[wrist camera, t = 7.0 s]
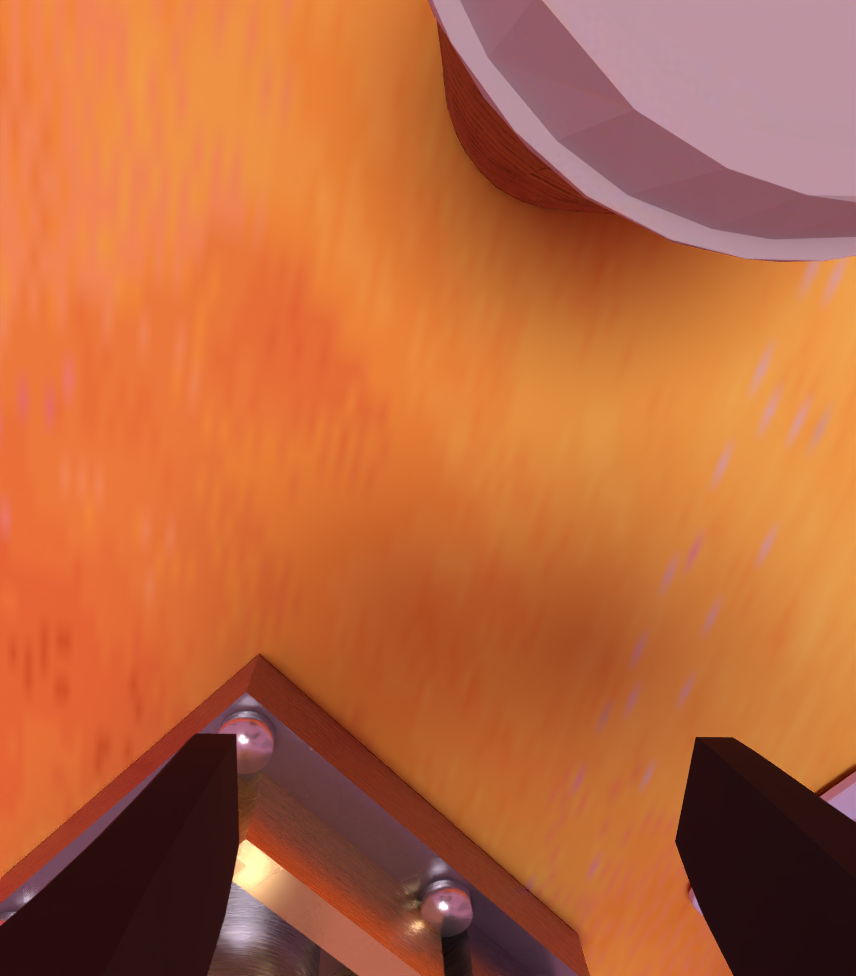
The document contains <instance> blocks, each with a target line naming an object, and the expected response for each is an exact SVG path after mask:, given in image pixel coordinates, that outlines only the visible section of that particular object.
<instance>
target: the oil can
mask: <svg viewBox="0 0 856 976" xmlns="http://www.w3.org/2000/svg"><path fill="white" fill-rule="evenodd" d="M320 956H321V947H320V946H318V945H317V944H316V943H314V942H313V941H312V940H310V939H309V938H308V937H306V936H305V935H304V934H302V933H301V932H300V931H298V930H297V929H296V928H294V927H293V926H292V925H290V924H289V923H288V922H286V921H285V920H284V919H282V918H281V917H280V916H278V915H277V914H276V913H274V912H273V911H272V910H270V909H269V908H268V907H266V906H265V905H264V904H262V903H261V902H260V901H258V900H257V899H256V898H254V897H253V896H252V895H250V894H249V893H248V892H246V891H245V890H244V889H242V888H241V887H240V886H238V885H237V884H236V883H234V882H233V881H232V885H231V890H230V895H229V900H228V905H227V910H226V915H225V918H224V921H223V925H222V928H221V932H220V935H219V938H218V942H217V945H216V948H215V951H214V955H213V958H212V961H211V965H210V968H209V971H208V975H207V976H319V967H320Z"/></svg>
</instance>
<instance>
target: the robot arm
mask: <svg viewBox="0 0 856 976" xmlns="http://www.w3.org/2000/svg"><path fill="white" fill-rule="evenodd" d="M675 842H676V845H677V848H678V851H679V854H680V857H681V859H682V862H683V865H684V868H685V871H686V874H687V876H688V879H689V882H690V884H691V887H692V888H691V890H690V892H689V898H690V900H691V902H692V904H693V906H694V908H695V909H696V910H697V911H698V912H699V913H700V914H701V915H702V916H703V917H704V918H705V920H706V922H707V924H708V926H709V928H710V930H711V932H712V934H713V936H714V938H715V940H716V942H717V944H718V946H719V948H720V950H721V952H722V954H723V956H724V958H725V960H726V962H727V964H728V966H729V968H730V969H731V971H732V973H733V975H734V976H856V771H855V772H854V773H852V774H851V775H850V776H848V777H847V778H845V779H844V780H843V781H841V782H840V783H838V784H837V785H836V786H834V787H833V788H831V789H830V790H828V791H827V792H826V793H824V794H823V795H821V796H820V797H819V796H818V795H816V794H815V793H813V792H812V791H811V790H809V789H808V788H806V787H805V786H804V785H802V784H801V783H799V782H798V781H797V780H795V779H794V778H792V777H791V776H789V775H788V774H787V773H785V772H784V771H782V770H781V769H780V768H778V767H777V766H775V765H774V764H772V763H771V762H770V761H768V760H767V759H765V758H764V757H762V756H761V755H759V754H758V753H756V752H755V751H753V750H752V749H750V748H749V747H747V746H746V745H744V744H743V743H741V742H739V741H738V740H736V739H734V738H733V737H696V739H695V744H694V749H693V754H692V759H691V764H690V769H689V774H688V779H687V785H686V790H685V795H684V800H683V805H682V810H681V815H680V820H679V825H678V830H677V835H676V840H675ZM238 848H239V812H238V775H237V738H236V734H211V733H195V734H194V735H193V736H192V737H191V738H190V739H188V740H187V742H186V743H185V744H184V745H183V746H182V747H181V748H180V749H179V750H178V752H177V753H176V754H175V755H174V756H173V757H172V758H171V759H170V760H169V762H168V763H167V764H166V765H165V766H164V767H163V768H162V769H161V770H160V772H159V773H158V774H157V775H156V776H155V777H154V778H153V779H152V780H151V781H150V782H149V784H148V785H147V786H146V787H145V788H144V789H143V790H142V791H141V792H140V793H139V794H138V795H137V797H136V798H135V799H134V800H133V801H132V802H131V803H130V804H129V805H128V806H127V807H126V808H125V809H124V810H123V811H122V812H121V813H120V814H119V815H118V816H117V817H116V818H115V819H114V820H113V821H112V822H111V823H110V824H109V825H108V826H107V827H106V828H105V829H104V830H103V832H102V833H101V834H100V835H99V836H98V837H97V838H96V839H95V840H94V841H93V842H92V843H91V844H89V845H88V846H87V847H86V848H85V849H84V850H83V851H82V852H81V853H80V854H79V855H78V856H77V857H76V858H75V859H74V860H73V861H71V862H70V863H69V864H68V865H67V866H66V867H65V868H64V869H63V870H62V871H61V872H60V873H59V874H58V875H57V876H55V877H54V878H53V879H52V880H51V881H50V882H49V883H48V884H47V885H46V886H45V887H44V888H43V889H42V890H41V891H39V892H38V893H37V894H36V895H35V896H34V897H33V898H32V899H30V900H29V901H28V902H27V903H26V904H25V905H24V906H22V907H21V908H20V909H19V910H18V911H17V912H16V913H14V914H13V915H12V916H11V917H10V918H9V919H7V920H6V921H5V922H4V923H3V924H2V925H0V976H207V975H208V971H209V968H210V965H211V961H212V958H213V955H214V951H215V948H216V945H217V942H218V938H219V935H220V932H221V928H222V925H223V921H224V918H225V915H226V910H227V905H228V900H229V895H230V890H231V885H232V880H233V875H234V869H235V864H236V859H237V854H238Z"/></svg>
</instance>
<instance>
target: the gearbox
mask: <svg viewBox="0 0 856 976" xmlns="http://www.w3.org/2000/svg"><path fill="white" fill-rule="evenodd" d="M195 733H211V734H236V738H237V775H238V812H239V848H238V854H237V859H236V864H235V869H234V875H233V880H232V881H233V882H234V883H236V884H237V885H238V886H240V887H241V888H242V889H244V890H245V891H246V892H248V893H249V894H250V895H252V896H253V897H254V898H256V899H257V900H258V901H260V902H261V903H262V904H264V905H265V906H266V907H268V908H269V909H270V910H272V911H273V912H274V913H276V914H277V915H278V916H280V917H281V918H282V919H284V920H285V921H286V922H288V923H289V924H290V925H292V926H293V927H294V928H296V929H297V930H298V931H300V932H301V933H302V934H304V935H305V936H306V937H308V938H309V939H310V940H312V941H313V942H314V943H316V944H317V945H318V946H320V947H321V956H320V967H319V976H590V974H589V971H588V968H587V964H586V961H585V958H584V954H583V951H582V948H581V944H580V941H579V938H578V934H577V933H575V932H574V931H573V930H572V929H571V928H570V927H569V926H567V925H566V924H565V923H564V922H563V921H562V920H561V919H560V918H558V917H557V916H556V915H555V914H554V913H553V912H552V911H550V910H549V909H548V908H547V907H546V906H545V905H544V904H542V903H541V902H540V901H539V900H538V899H537V898H536V897H534V896H533V895H532V894H531V893H530V892H529V891H528V890H527V889H525V888H524V887H523V886H522V885H521V884H520V883H519V882H517V881H516V880H515V879H514V878H513V877H512V876H511V875H509V874H508V873H507V872H506V871H505V870H504V869H503V868H502V867H500V866H499V865H498V864H497V863H496V862H495V861H494V860H492V859H491V858H490V857H489V856H488V855H487V854H486V853H484V852H483V851H482V850H481V849H480V848H479V847H478V846H476V845H475V844H474V843H473V842H472V841H471V840H470V839H469V838H467V837H466V836H465V835H464V834H463V833H462V832H461V831H459V830H458V829H457V828H456V827H455V826H454V825H453V824H451V823H450V822H449V821H448V820H447V819H446V818H445V817H443V816H442V815H441V814H440V813H439V812H438V811H437V810H436V809H434V808H433V807H432V806H431V805H430V804H429V803H428V802H426V801H425V800H424V799H423V798H422V797H421V796H420V795H418V794H417V793H416V792H415V791H414V790H413V789H412V788H411V787H409V786H408V785H407V784H406V783H405V782H404V781H403V780H401V779H400V778H399V777H398V776H397V775H396V774H395V773H393V772H392V771H391V770H390V769H389V768H388V767H387V766H385V765H384V764H383V763H382V762H381V761H380V760H379V759H378V758H376V757H375V756H374V755H373V754H372V753H371V752H370V751H368V750H367V749H366V748H365V747H364V746H363V745H362V744H360V743H359V742H358V741H357V740H356V739H355V738H354V737H352V736H351V735H350V734H349V733H348V732H347V731H346V730H345V729H343V728H342V727H341V726H340V725H339V724H338V723H337V722H335V721H334V720H333V719H332V718H331V717H330V716H329V715H327V714H326V713H325V712H324V711H323V710H322V709H321V708H320V707H318V706H317V705H316V704H315V703H314V702H313V701H312V700H310V699H309V698H308V697H307V696H306V695H305V694H304V693H302V692H301V691H300V690H299V689H298V688H297V687H296V686H294V685H293V684H292V683H291V682H290V681H289V680H288V679H287V678H285V677H284V676H283V675H282V674H281V673H280V672H279V671H277V670H276V669H275V668H274V667H273V666H272V665H271V664H269V663H268V662H267V661H266V660H265V659H264V658H263V657H261V656H260V655H257V656H256V657H255V658H254V659H253V660H252V661H250V662H249V663H248V664H247V665H246V666H245V667H244V668H242V669H241V670H240V671H239V672H238V673H237V674H236V675H234V676H233V677H232V678H231V679H230V680H229V681H227V682H226V683H225V684H224V685H223V686H222V687H221V688H219V689H218V690H217V691H216V692H215V693H214V694H213V695H211V696H210V697H209V698H208V699H207V700H206V701H204V702H203V703H202V704H201V705H200V706H199V707H198V708H196V709H195V710H194V711H193V712H192V713H191V714H190V715H188V716H187V717H186V718H185V719H184V720H183V721H181V722H180V723H179V724H178V725H177V726H176V727H175V728H173V729H172V730H171V731H170V732H169V733H168V734H167V735H165V736H164V737H163V738H162V739H161V740H160V741H158V742H157V743H156V744H155V745H154V746H153V747H152V748H150V749H149V750H148V751H147V752H146V753H145V754H144V755H142V756H141V757H140V758H139V759H138V760H137V761H135V762H134V763H133V764H132V765H131V766H130V767H129V768H127V769H126V770H125V771H124V772H123V773H122V774H120V775H119V776H118V777H117V778H116V779H115V780H114V781H112V782H111V783H110V784H109V785H108V786H107V787H106V788H104V789H103V790H102V791H101V792H100V793H99V794H97V795H96V796H95V797H94V798H93V799H92V800H91V801H89V802H88V803H87V804H86V805H85V806H84V807H83V808H81V809H80V810H79V811H78V812H77V813H76V814H74V815H73V816H72V817H71V818H70V819H69V820H68V821H66V822H65V823H64V824H63V825H62V826H61V827H60V828H58V829H57V830H56V831H55V832H54V833H53V834H51V835H50V836H49V837H48V838H47V839H46V840H45V841H43V842H42V843H41V844H40V845H39V846H38V847H37V848H35V849H34V850H33V851H32V852H31V853H30V854H28V855H27V856H26V857H25V858H24V859H23V860H22V861H20V862H19V863H18V864H17V865H16V866H15V867H14V868H12V869H11V870H10V871H9V872H8V873H7V874H5V875H4V876H3V877H2V878H1V880H0V925H2V924H3V923H4V922H5V921H6V920H7V919H9V918H10V917H11V916H12V915H13V914H14V913H16V912H17V911H18V910H19V909H20V908H21V907H22V906H24V905H25V904H26V903H27V902H28V901H29V900H30V899H32V898H33V897H34V896H35V895H36V894H37V893H38V892H39V891H41V890H42V889H43V888H44V887H45V886H46V885H47V884H48V883H49V882H50V881H51V880H52V879H53V878H54V877H55V876H57V875H58V874H59V873H60V872H61V871H62V870H63V869H64V868H65V867H66V866H67V865H68V864H69V863H70V862H71V861H73V860H74V859H75V858H76V857H77V856H78V855H79V854H80V853H81V852H82V851H83V850H84V849H85V848H86V847H87V846H88V845H89V844H91V843H92V842H93V841H94V840H95V839H96V838H97V837H98V836H99V835H100V834H101V833H102V832H103V830H104V829H105V828H106V827H107V826H108V825H109V824H110V823H111V822H112V821H113V820H114V819H115V818H116V817H117V816H118V815H119V814H120V813H121V812H122V811H123V810H124V809H125V808H126V807H127V806H128V805H129V804H130V803H131V802H132V801H133V800H134V799H135V798H136V797H137V795H138V794H139V793H140V792H141V791H142V790H143V789H144V788H145V787H146V786H147V785H148V784H149V782H150V781H151V780H152V779H153V778H154V777H155V776H156V775H157V774H158V773H159V772H160V770H161V769H162V768H163V767H164V766H165V765H166V764H167V763H168V762H169V760H170V759H171V758H172V757H173V756H174V755H175V754H176V753H177V752H178V750H179V749H180V748H181V747H182V746H183V745H184V744H185V743H186V742H187V740H188V739H190V738H191V737H192V736H193V735H194V734H195Z"/></svg>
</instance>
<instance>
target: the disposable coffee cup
mask: <svg viewBox="0 0 856 976" xmlns="http://www.w3.org/2000/svg"><path fill="white" fill-rule="evenodd" d="M428 1H429V3H430V6H431V9H432V11H433V14H434V16H435V18H436V19H437V26H438V34H439V41H440V48H441V56H442V65H443V78H444V86H445V93H446V102H447V107H448V110H449V113H450V116H451V119H452V122H453V125H454V128H455V131H456V134H457V137H458V139H459V140H460V142H461V144H462V146H463V148H464V150H465V152H466V153H467V155H468V156H469V157H470V159H471V160H472V161H473V162H474V164H475V165H476V166H477V168H478V169H479V170H480V172H481V173H482V174H483V175H484V176H485V177H487V178H488V179H489V180H490V181H491V182H492V183H493V184H494V185H495V187H497V188H499V189H501V190H502V191H504V192H506V193H508V194H509V195H511V196H513V197H515V198H517V199H519V200H521V201H523V202H525V203H529V204H532V205H535V206H538V207H542V208H550V209H561V210H570V211H583V212H596V213H611V214H618V215H620V216H622V217H624V218H626V219H628V220H630V221H632V222H634V223H636V224H638V225H640V226H641V227H643V228H645V229H647V230H649V231H651V232H653V233H655V234H657V235H659V236H661V237H663V238H665V239H667V240H669V241H671V242H673V243H677V244H682V245H686V246H691V247H695V248H700V249H704V250H709V251H713V252H718V253H722V254H727V255H731V256H736V257H740V258H745V259H754V260H765V261H777V262H790V261H827V260H833V259H838V258H844V257H850V256H856V0H428Z"/></svg>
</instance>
